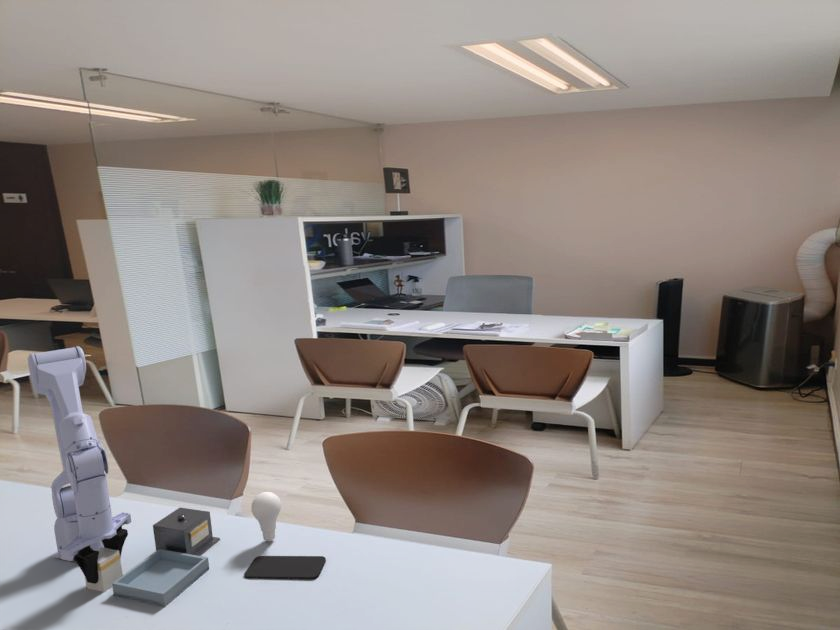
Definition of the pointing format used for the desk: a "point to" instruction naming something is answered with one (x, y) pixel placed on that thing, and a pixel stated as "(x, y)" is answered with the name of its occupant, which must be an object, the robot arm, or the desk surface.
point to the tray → (161, 577)
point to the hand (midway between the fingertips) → (103, 574)
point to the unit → (185, 532)
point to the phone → (286, 567)
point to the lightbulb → (266, 513)
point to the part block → (106, 569)
